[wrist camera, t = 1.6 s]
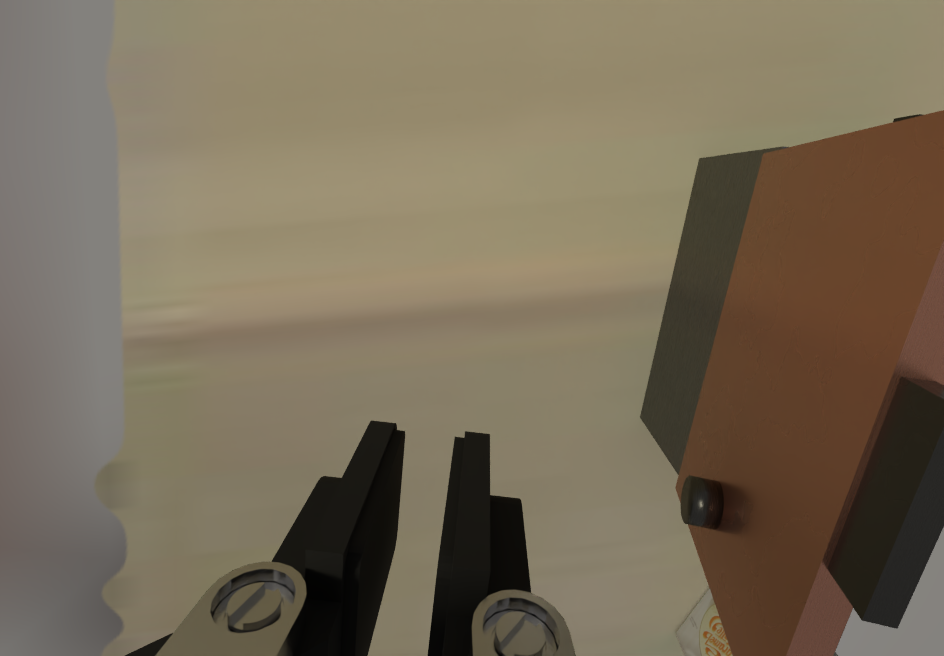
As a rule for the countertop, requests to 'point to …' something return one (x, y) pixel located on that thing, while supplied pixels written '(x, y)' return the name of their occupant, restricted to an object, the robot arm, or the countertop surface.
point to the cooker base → (698, 295)
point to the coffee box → (704, 631)
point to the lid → (825, 394)
